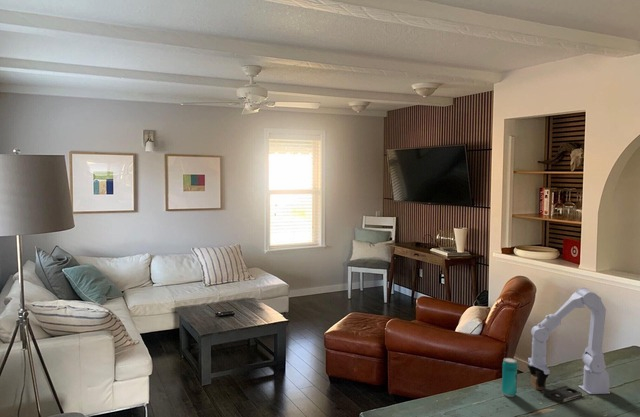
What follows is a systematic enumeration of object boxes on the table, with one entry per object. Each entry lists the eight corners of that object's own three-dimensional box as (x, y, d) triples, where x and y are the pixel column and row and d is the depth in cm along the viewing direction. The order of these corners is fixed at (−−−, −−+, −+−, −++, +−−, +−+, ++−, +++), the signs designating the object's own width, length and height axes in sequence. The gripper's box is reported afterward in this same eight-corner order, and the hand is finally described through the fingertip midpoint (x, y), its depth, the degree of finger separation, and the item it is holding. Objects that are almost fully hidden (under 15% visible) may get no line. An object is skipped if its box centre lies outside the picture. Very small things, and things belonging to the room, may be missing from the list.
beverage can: (517, 398, 207) (518, 363, 206) (503, 396, 208) (504, 362, 207) (515, 392, 212) (516, 358, 211) (500, 391, 214) (501, 357, 213)
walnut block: (540, 384, 220) (540, 373, 220) (545, 389, 215) (545, 378, 215) (530, 385, 220) (530, 374, 219) (535, 389, 215) (535, 378, 215)
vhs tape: (559, 404, 202) (560, 399, 202) (543, 396, 209) (543, 392, 209) (582, 397, 209) (582, 392, 209) (565, 390, 216) (565, 385, 216)
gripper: (521, 348, 223) (521, 377, 224) (538, 360, 209) (537, 391, 210) (536, 347, 224) (535, 377, 225) (554, 359, 210) (553, 390, 210)
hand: (537, 384), depth 217 cm, fingers closed on walnut block, 4 cm apart
